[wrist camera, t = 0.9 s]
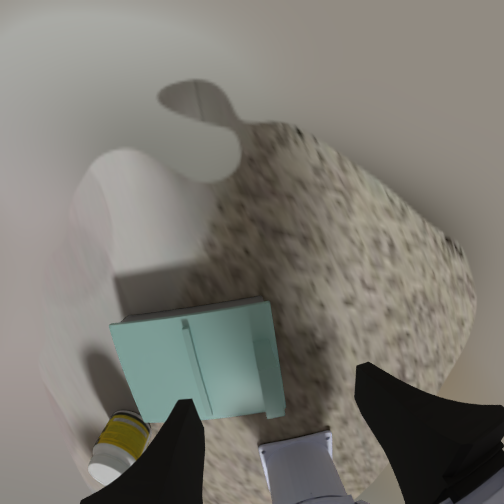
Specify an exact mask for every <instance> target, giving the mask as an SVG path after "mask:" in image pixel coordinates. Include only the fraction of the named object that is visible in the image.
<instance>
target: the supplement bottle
mask: <svg viewBox="0 0 504 504" xmlns="http://www.w3.org/2000/svg"><path fill="white" fill-rule="evenodd" d="M151 434H152V432H151V428H150V426H149V424H148V423H144V421H143V419H142V417H141V416H140V415H138V414H136V413H134V412H131V411H126V410H121V411H117V412H115V413H114V414H113V415H112V416H111V418H110V420H109V422H108V423H107V425H106V427H105V428H104V430H103V431H102V433H101V435H100V437H99V439H98V440H97V442H96V444H95V445H94V448H93V457H92V458H91V461H90V463H89V465H88V471H89V473H90V474H91V476H92V477H93V478H94V479H95V480H97V481H98V482H99V483H101V484H103V485H105V486H107V485H108V484H110V483H111V482H113V481H114V480H115V479H117V478H118V477H119V476H120V475H121V474H123V473H124V472H125V471H126V470H127V469H128V468H129V467H130V466H131V465H132V464H133V463H134V462H135V461H136V460H137V459H138V458H139V457H140V456H141V455H142V453H143V452H144V451H145V450H146V449H147V446H148V444H149V441H150V438H151Z"/></svg>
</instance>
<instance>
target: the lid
mask: <svg viewBox="0 0 504 504" xmlns="http://www.w3.org/2000/svg"><path fill="white" fill-rule="evenodd" d="M109 328H110V332H111V335H112V338H113V341H114V345H115V348H116V351H117V354H118V357H119V360H120V363H121V366H122V368H123V371H124V374H125V377H126V379H127V382H128V385H129V387H130V390H131V392H132V395H133V397H134V400H135V402H136V405H137V407H138V409H139V412H140V414H141V416H142V419H143V421H144V423H158V422H165V421H166V420H167V418H168V416H169V415H170V413H171V411H172V409H173V408H174V406H175V404H176V402H177V401H178V400H180V399H191V398H192V400H193V402H194V405H195V407H196V410H197V412H198V415H199V417H200V420H208V419H218V418H227V417H235V416H242V415H249V414H255V413H261V412H266V415H267V419H271V418H276V417H281V416H285V410H284V408H286V403H285V396H284V390H283V383H282V376H281V370H280V363H279V357H278V350H277V344H276V337H275V331H274V325H273V318H272V312H271V306H270V301H264V302H258V303H252V304H247V305H241V306H235V307H229V308H223V309H217V310H210V311H204V312H197V313H191V314H184V315H177V316H169V317H162V318H154V319H146V320H138V321H130V322H121V323H112V324H110V325H109Z"/></svg>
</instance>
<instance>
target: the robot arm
mask: <svg viewBox="0 0 504 504" xmlns="http://www.w3.org/2000/svg"><path fill="white" fill-rule="evenodd" d="M354 398H355V400H356V403H357V405H358V408H359V410H360V412H361V414H362V416H363V418H364V419H365V421H366V423H367V424H368V426H369V427H370V429H371V431H372V432H373V434H374V435H375V437H376V438H377V440H378V442H379V443H380V445H381V446H382V448H383V450H384V452H385V453H386V455H387V458H388V460H389V462H390V464H391V466H392V469H393V471H394V473H395V476H396V478H397V481H398V483H399V486H400V489H401V491H402V494H403V497H404V501H405V504H504V451H503V450H502V448H503V447H504V444H503V443H502V442H501V440H502V438H503V437H504V407H503V406H502V405H477V404H468V403H462V402H457V401H453V400H448V399H444V398H441V397H438V396H435V395H432V394H429V393H427V392H424V391H422V390H419V389H417V388H415V387H413V386H411V385H409V384H407V383H405V382H403V381H401V380H399V379H397V378H395V377H394V376H392V375H390V374H389V373H387V372H385V371H383V370H382V369H380V368H378V367H377V366H375V365H373V364H372V363H370V362H366V363H363V364H360V365H357V366H356V382H355V395H354ZM326 437H327V438H326ZM258 450H259V454H260V458H261V462H262V466H263V469H264V473H265V477H266V481H267V485H268V488H269V491H270V492H271V498H272V504H370V503H368V502H365V501H363V500H359V501H357V502H354V500H353V498H352V496H351V495H347V493H346V491H345V488H344V486H343V484H342V481H341V479H340V477H339V475H338V472H337V470H336V468H335V465H334V463H333V461H332V433H331V431H329V430H327V431H323V432H319V433H315V434H311V435H307V436H303V437H298V438H294V439H289V440H284V441H279V442H274V443H268V444H262V445H260V446H259V447H258ZM204 457H205V435H204V427H203V425H202V422H201V420H200V417H199V415H198V412H197V410H196V407H195V405H194V402H193V400H192V398H191V399H180V400H178V401H177V402H176V404H175V406H174V408H173V409H172V411H171V413H170V415H169V416H168V418H167V420H166V421H165V423H164V424H163V426H162V427H161V429H160V431H159V432H158V434H157V435H156V437H155V438H154V439H153V441H152V442H151V443H150V445H149V446H148V447H147V449H146V450H145V451H144V452H143V453H142V455H141V456H140V457H139V458H138V459H137V460H136V461H135V462H134V463H133V464H132V465H131V466H130V467H129V468H128V469H127V470H126V471H125V472H124V473H123V474H121V475H120V476H119V477H118V478H117V479H115V480H114V481H113V482H111V483H110V484H108V485H107V486H105V487H104V488H102V489H101V490H99V491H98V492H96V493H94V494H92V495H90V496H89V497H86V498H85V499H82V500H81V502H80V504H203V500H202V484H203V470H204Z"/></svg>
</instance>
